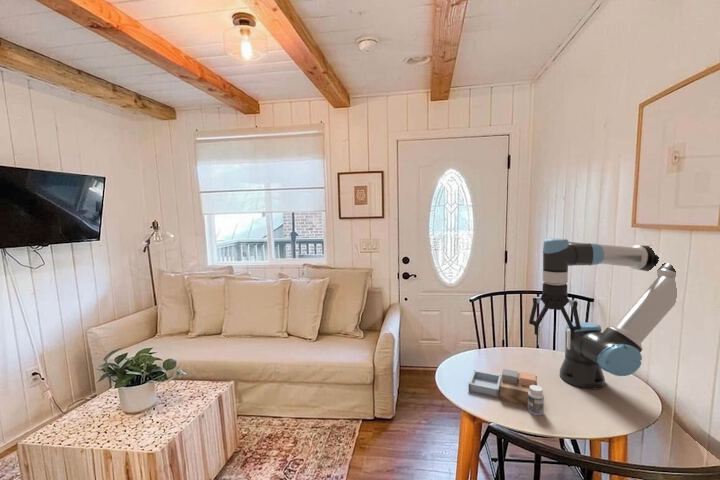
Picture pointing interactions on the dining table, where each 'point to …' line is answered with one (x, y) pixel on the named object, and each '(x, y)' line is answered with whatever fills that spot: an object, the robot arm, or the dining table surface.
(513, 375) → the slate-grey tile
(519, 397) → the brown block
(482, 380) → the tray
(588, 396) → the dining table surface
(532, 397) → the pill bottle
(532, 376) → the terracotta tile
